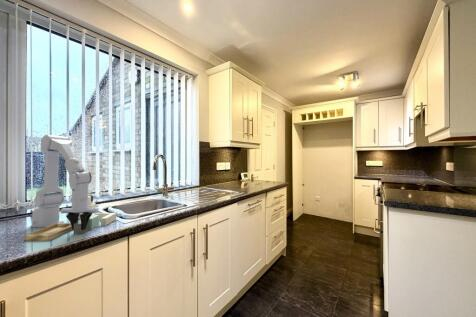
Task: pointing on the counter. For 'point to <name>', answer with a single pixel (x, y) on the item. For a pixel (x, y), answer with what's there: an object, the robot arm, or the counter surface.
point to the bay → (105, 217)
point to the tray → (49, 232)
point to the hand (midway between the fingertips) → (79, 229)
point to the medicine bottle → (90, 203)
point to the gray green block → (90, 225)
